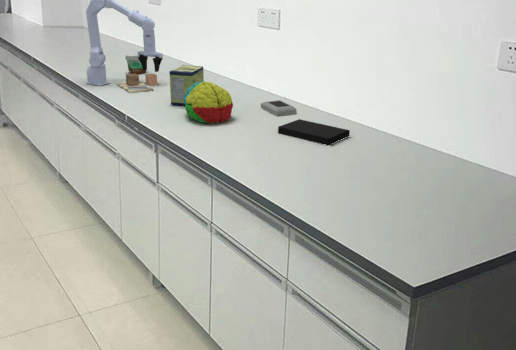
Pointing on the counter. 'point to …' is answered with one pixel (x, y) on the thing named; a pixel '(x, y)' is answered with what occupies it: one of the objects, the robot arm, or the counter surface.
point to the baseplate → (124, 86)
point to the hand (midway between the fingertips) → (151, 70)
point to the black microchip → (313, 131)
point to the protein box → (183, 82)
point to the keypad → (278, 108)
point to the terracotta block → (151, 79)
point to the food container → (134, 65)
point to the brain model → (208, 103)
